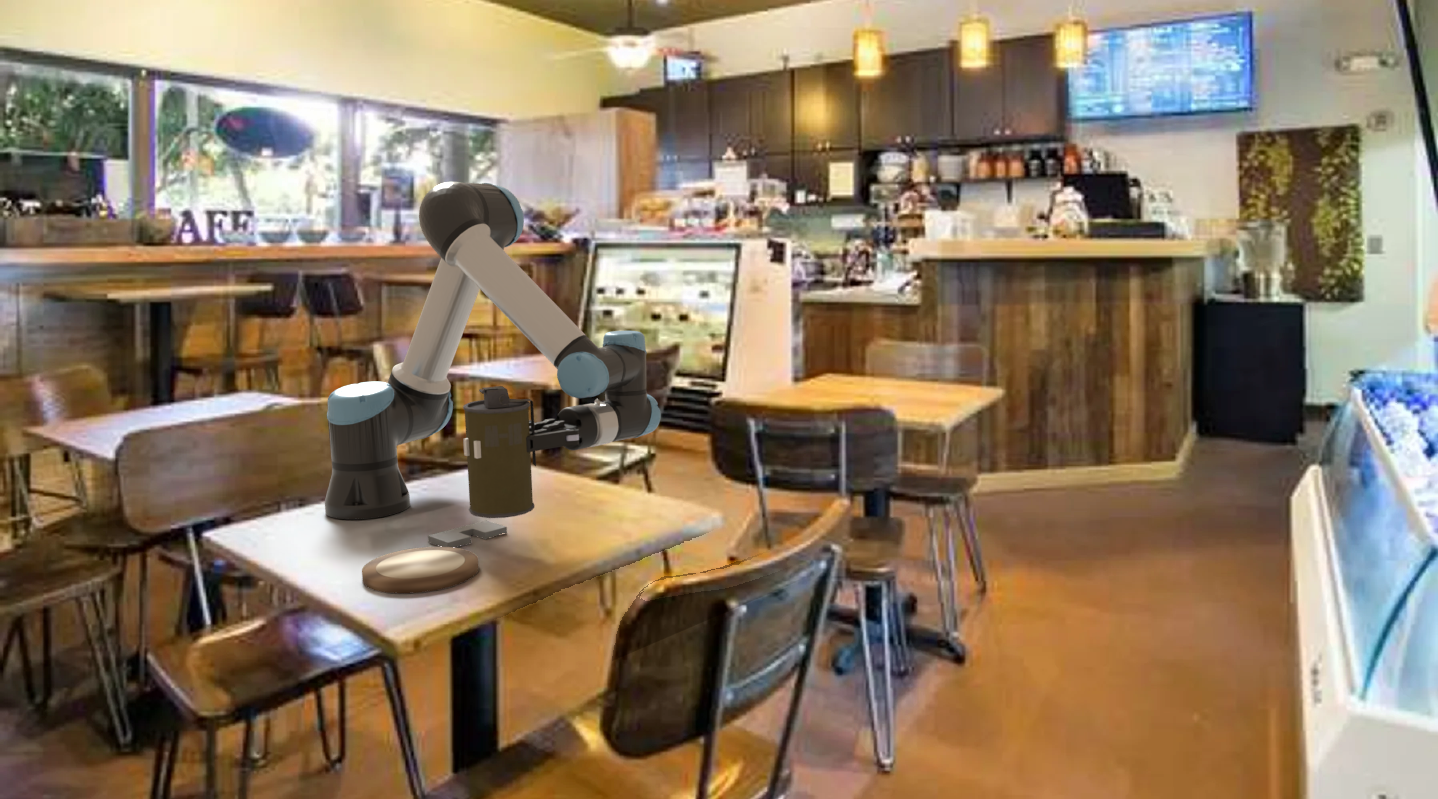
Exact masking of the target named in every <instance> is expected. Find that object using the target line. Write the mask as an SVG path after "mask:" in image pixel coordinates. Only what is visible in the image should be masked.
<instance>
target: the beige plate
mask: <svg viewBox="0 0 1438 799" xmlns="http://www.w3.org/2000/svg"><path fill="white" fill-rule="evenodd" d="M479 570H480V569H479V557H478V555H477V554H476V553H474V552H473V551H470V550H467V549H465V548H464V549H463V548H460V547H456V548H453V547H440V546H424V547H415V548H409V549H408V548H407V549H402V550H398V551H392V552H390V553H387V554H383V555H380V556H378V557H376V558H373V559H372V560H370V561H368V562H366V563H365V565H364V566H363V567H362V569H361V577H362V578H361V580H362V584H363V585H364V586H365V587H366V588H368V589H370V590H372V591H375V592H380V593H386V594H399V595H400V594H421V593H429V592H435V591H441V590H444V589H449V588H451V587H455V586H458V585H461V584H463V583H466V582H467V581H470V580H471V579H472V578H474V577H476V575H477V574H478V572H479Z"/></svg>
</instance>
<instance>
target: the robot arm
mask: <svg viewBox="0 0 1438 799" xmlns="http://www.w3.org/2000/svg"><path fill="white" fill-rule="evenodd" d="M524 216H525V215H524V211H523V209H522V207H521V205H520V201H519V200H518V198H517V197H516V196H515V194H514V193H512V192H511V191H510V190H509V189H507V188H506V187H504V186H500V185H496V184H493V183H488V182H483V183H480V182H479V183H475V182H463V181H462V182H460V181H446V182H441V183H439V184H437V185H435V186H433V187H432V188H431V189H429V190H428V191H427V193H426V194H425V196H424V197H423V198H422V201H421V203H420V206H419V210H418V220H419V226H420V230H421V232H422V234H423V236H424V238H425V239H426V241H427V243H428V244H429V245H430V247H431V248H432V249H433V251H435V253H436V254H437V255H438V256H439V257H440V261H439V263H438V265H437V267H436V268H437V269H436V271H435V274H434V276H433V279H432V282H431V286H430V288H429V290H428V293H427V296H426V300H425V301H424V304H423V307H422V310H421V313H420V316H419V317H418V321H417V324H416V326H415V329H414V331H413V332H414V333H413V334H412V338H411V341H410V343H409V346H408V349H407V352H406V354H405V356H404V360H403V361H402V362H400V363H397V364H395V365H394V366H393V367H392V370H391V372H390V375H389V377H388V380H387V382H385V381H379V380H378V381H363V382H359V383H351V384H347V385H344V386H341V387H339V388H337V389H334V391H332V392H331V393H330V394H329V396H328V398H327V412H326V418H327V426H328V436H329V447H330V448H329V449H330V457H331V458H330V459H331V477H330V480H329V484H328V487H327V491H326V496H325V499H324V510H325V515H326V516H327V517H330V518H333V519H338V520H339V519H340V520H369V519H376V518H381V517H383V518H384V517H388V516H392V515H395V514H399V513H401V512H404V511H405V510H407V509H409V508H410V507H411V498H410V492H409V489H408V487H407V484H406V482H405V480H404V478H403V475H402V473H401V471H400V468H399V462H398V449H397V447H398V446H400V445H404V444H407V443H410V442H414V441H418V440H422V439H426V438H428V437H432V436H433V435H434V434H436V433H438V432H439V431H441V430H442V429H443V428H444V427H445V426H446V425H447V424H448V423H449V421H450V419H451V417H452V414H453V409H454V406H453V404H454V402H453V400H452V399H451V397H452V394H451V387H452V385H451V382H450V381H449V379H448V374H449V371H450V368H451V366H452V364H453V361H454V358H455V356H456V352H457V350H458V347H459V345H460V342H461V339H462V337H463V333H464V331H465V329H466V326H467V324H468V322H469V318H470V315H471V313H472V310H473V308H474V305H475V303H476V300H477V297H478V295H479V293H480V291H481V292H482V294H484V295H485V296H486V297H487V298H488V299H489V300H490V301H491V302H492V303H493V304H494V305H495V306H496V307H497V308H498V309H499V310H500V311H501V312H502V314H503V315H504V316H505V317H506V318H507V319H508V320H509V321H510V322H511V323H513V325H514V326H515V327H516V328H517V329H518V330H519V331H520V332H521V333H522V334H523V335H524V336H525V337H526V338H527V340H529V341H530V342H531V343H532V345H533V346H535V348H536V349H537V350H538V351H539V352H540V353H541V354H542V355H543V357H545V358H546V359H547V360H548V361H549V362H550V364H552V366H554V367H555V369H556V370H557V372H556V378H557V382H558V384H559V387H560V388H561V390H562V391H563V392H564V393H565V394H566V395H568V396H570V397H572V398H575V399H585V398H592V397H593V398H594V397H596V396H599V395H601V393H604V394H605V395H604V396H605V400H602V401H601V399H598V398H596V399H595V400H594V403H591V402H590V403H585V404H579V405H572V406H567V407H564V408H562V409H561V410H560V411H558V412H559V413H557V415H556V418H547V419H544V420H543V421H537V422H534V431H535V435H534V433H533V432H532V431H531V419H529V432H530V435H529V436H527V437H526V447H527V452H530V453H532V451H535V452H537V451H542V450H549V449H555V448H556V449H557V448H561V447H564V448H565V449H567V450H569V451H579V450H583V449H587V448H594V447H599V446H603V445H607V444H610V443H613V442H617V441H622V440H627V439H636V438H640V437H643V436H646V435H648V434H651V433H653V432H654V431H656V429H657V428H658V426H659V424H660V422H661V408H659V406H658V404H659V403H658V401H657V400H656V399H655V397H653V396H652V395H651V394H648V392H647V355H648V354H647V349H646V339H645V335H644V334H643V332H641V331H637V330H615V331H614V330H612V331H608V332H606V333H604V336H603V342H602V346H601V347H598V346H597V345H596V344H595V343H594V342H593V341H592V340H591V339H590V338H589V337H588V336H587V335H586V334H585V333H584V332H583V331H582V329H581V328H579V326H578V325H576V324H575V322H574V321H573V320H572V319H571V318H570V317H569V316H568V315H567V314H566V313H565V312H564V311H563V310H562V309H561V308H560V306H558V305H557V303H555V302H554V301H553V300H552V299H551V298H550V297H549V296H548V294H546V293H545V291H544V290H543V289H542V288H540V286H539V285H538V284H537V283H536V282H535V281H534V280H533V279H532V278H531V277H530V275H528V274H527V273H526V272H525V271H524V270H523V268H521V267H520V266H519V264H517V263H516V261H515V260H513V259H512V257H510V255H509V254H507V252H506V251H505V248H508V247H511V245H513V244H514V243H516V242H517V241H518V240H519V239H520V237H521V235H522V233H523V230H524V224H525V223H524V222H525V218H524ZM462 440H463V455H464V456H466V457H467V456H470V453H469V439H468V438H466V437H465V438H463V439H462ZM474 457H475V458H477V459H478V458H481V443H480V441H474Z"/></svg>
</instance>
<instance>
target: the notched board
mask: <svg viewBox="0 0 1438 799" xmlns="http://www.w3.org/2000/svg"><path fill="white" fill-rule="evenodd" d="M502 533H507V534H508V527H507V526H505V525H502V524H500V523H497V522H492V521H490V520H486V519H485V520H483V521H477V522H475V523H470V524H467V525H464V526H463V525H462V526H459V527H456V528H455V527H454V528H452V529H447V530H445V531H440V532H436V533H433V534H429V535H427V540H428V541H427V542H428V543H429V544H432V545H434V546H437V545H439V546H438V547H440V546H442V547H456V548H458V547H457V546H460V545H464V546H467V545H470V544H469V543H471V544H472V536H471V535H473V536H474V535H475V536H474V537H477V536H478V537H477V538H480V537H483V538H484V539H483V538H482V539H483V540H488V539H487V538H489V537H493V536H496V535H499V534H502ZM496 537H497V536H496ZM493 538H494V537H493ZM489 539H490V538H489ZM466 544H467V545H466ZM460 547H461V546H460Z"/></svg>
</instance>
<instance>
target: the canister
mask: <svg viewBox="0 0 1438 799" xmlns="http://www.w3.org/2000/svg"><path fill="white" fill-rule="evenodd" d="M478 392H479V393H480V394H481V395H482V394H483V399H481V400H480V399H479V400H475V401H471V402H468V403H466V404H464V405H463V406H462V408H463V411H464V422H465V423H464V424H465V425H464V426H465V438H468V439H469V453H470V456H466V458H467V460H466V461H467V478H468V497H469V508H468V511H469V513H470V515H472V516H475V517H478V518H485V519H506V518H513V517H518V516H522V515H525V514H527V513H530V512H532V511H533V509H535V503H534V501H533V499H534V498H533V480H532V464H533V466H535V467H537V462H536V461H537V456H536V451H532V452H527V447H526V437H527V436H529V435H530V432H529V420H531V431H532V432H533V433H534V435H535V431H534V423H535V413H534V412H535V411H534V410H535V409H534V401H533V400H531V399H530V398H521V399H520V398H518V399H517V398H510V395H509V390H508V388H506V387H505V386H503V385H498V386H490V387H489V386H486V387H481V388H479V389H478ZM529 409H530V413H529ZM529 414H530V415H529ZM474 441H480V443H481V458H478V459H477V458H475V457H474ZM531 454H532V457H531ZM531 458H532V460H531Z"/></svg>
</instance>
